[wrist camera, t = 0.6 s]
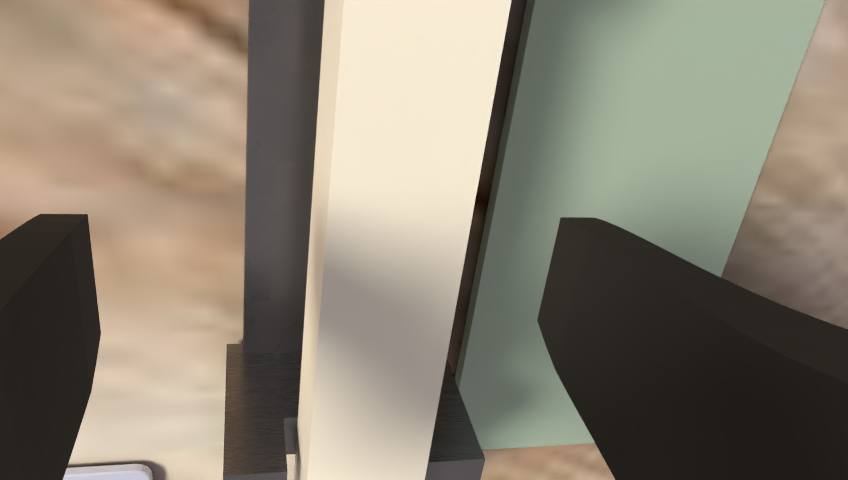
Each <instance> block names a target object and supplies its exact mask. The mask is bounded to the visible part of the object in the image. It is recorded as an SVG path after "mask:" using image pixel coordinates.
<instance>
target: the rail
mask: <svg viewBox="0 0 848 480" xmlns="http://www.w3.org/2000/svg"><path fill="white" fill-rule="evenodd" d="M510 6H511V0H325V5H324V21H323V36H322V52H321V67H320V83H319V98H318V114H317V129H316V145H315V160H314V176H313V191H312V207H311V222H310V238H309V253H308V269H307V284H306V300H305V315H304V331H303V346H302V362H301V377H300V393H299V408H298V424H297V439H296V455H295V470H294V480H425V476H426V470H427V465H428V459H429V453H430V448H431V442H432V437H433V431H434V426H435V420H436V415H437V409H438V404H439V398H440V393H441V387H442V382H443V376H444V371H445V365H446V360H447V354H448V348H449V343H450V337H451V332H452V326H453V321H454V315H455V310H456V304H457V299H458V293H459V288H460V282H461V277H462V271H463V266H464V260H465V255H466V249H467V244H468V238H469V232H470V227H471V221H472V216H473V210H474V205H475V199H476V194H477V188H478V183H479V177H480V172H481V166H482V161H483V155H484V150H485V144H486V139H487V133H488V127H489V122H490V116H491V111H492V105H493V100H494V94H495V89H496V83H497V78H498V72H499V67H500V61H501V56H502V50H503V45H504V39H505V34H506V28H507V23H508V17H509V11H510Z"/></svg>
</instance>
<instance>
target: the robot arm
mask: <svg viewBox="0 0 848 480" xmlns="http://www.w3.org/2000/svg"><path fill="white" fill-rule="evenodd" d="M537 321H538V324H539V327H540V330H541V333H542V336H543V339H544V342H545V345H546V348H547V350H548V353H549V355H550V358H551V361H552V363H553V366H554V368H555V370H556V372H557V374H558V376H559V378H560V380H561V382H562V384H563V386H564V388H565V389H566V391H567V393H568V395H569V397H570V399H571V400H572V402H573V404H574V406H575V408H576V410H577V411H578V413H579V415H580V417H581V419H582V420H583V422H584V424H585V426H586V427H587V429H588V431H589V433H590V435H591V436H592V438H593V440H594V442H595V444H596V445H597V447H598V449H599V451H600V453H601V454H602V456H603V458H604V460H605V461H606V463H607V465H608V467H609V469H610V470H611V472H612V474H613V476H614V478H615V480H848V329H845V328H842V327H839V326H836V325H833V324H830V323H827V322H825V321H822V320H819V319H817V318H814V317H812V316H809V315H806V314H804V313H801V312H798V311H796V310H793V309H790V308H788V307H785V306H783V305H781V304H778V303H776V302H773V301H771V300H769V299H766V298H764V297H762V296H760V295H757V294H755V293H753V292H751V291H749V290H746V289H744V288H742V287H740V286H738V285H735V284H733V283H731V282H729V281H727V280H725V279H723V278H721V277H719V276H716V275H714V274H712V273H710V272H708V271H706V270H704V269H702V268H700V267H698V266H696V265H694V264H692V263H690V262H688V261H686V260H684V259H682V258H681V257H679V256H677V255H675V254H673V253H671V252H669V251H667V250H665V249H663V248H661V247H659V246H657V245H655V244H653V243H651V242H649V241H647V240H645V239H643V238H641V237H639V236H637V235H635V234H633V233H631V232H629V231H627V230H625V229H623V228H621V227H618V226H616V225H614V224H611V223H609V222H606V221H604V220H601V219H598V218H592V217H561V218H560V222H559V227H558V231H557V235H556V240H555V244H554V249H553V253H552V257H551V262H550V266H549V270H548V275H547V279H546V284H545V288H544V292H543V297H542V301H541V305H540V310H539V314H538V319H537ZM100 335H101V331H100V322H99V313H98V304H97V295H96V286H95V277H94V268H93V260H92V251H91V242H90V233H89V224H88V215H87V214H40V215H38V216H36V217H34V218H32V219H31V220H29V221H27V222H26V223H24V224H23V225H21V226H20V227H18V228H17V229H15V230H14V231H12V232H11V233H9V234H8V235H6V236H5V237H3V238H2V239H0V480H153V479H152V472H151V469H150V468H149V467H147V466H145V465H143V464H125V465H108V466H91V467H75V468H67V465H68V462H69V459H70V456H71V453H72V450H73V447H74V444H75V441H76V438H77V435H78V432H79V428H80V425H81V422H82V419H83V416H84V413H85V410H86V406H87V403H88V400H89V397H90V393H91V389H92V384H93V378H94V372H95V367H96V361H97V354H98V348H99V341H100Z"/></svg>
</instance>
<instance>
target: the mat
mask: <svg viewBox="0 0 848 480" xmlns="http://www.w3.org/2000/svg"><path fill="white" fill-rule="evenodd" d="M824 2H825V0H527V3H526V8H525V13H524V19H523V24H522V29H521V34H520V40H519V45H518V50H517V55H516V61H515V66H514V71H513V76H512V82H511V87H510V92H509V97H508V103H507V108H506V113H505V118H504V124H503V129H502V134H501V139H500V145H499V150H498V155H497V160H496V166H495V171H494V176H493V181H492V187H491V192H490V197H489V202H488V207H487V213H486V218H485V223H484V228H483V234H482V239H481V244H480V249H479V255H478V260H477V265H476V270H475V276H474V281H473V286H472V291H471V297H470V302H469V307H468V312H467V318H466V323H465V328H464V333H463V339H462V344H461V349H460V354H459V360H458V365H457V370H456V375H455V381H456V383H457V386H458V389H459V391H460V394H461V397H462V399H463V402H464V405H465V407H466V410H467V413H468V415H469V418H470V421H471V423H472V426H473V429H474V431H475V434H476V436H477V439H478V442H479V444H480V447H481V450H489V449H505V448H522V447H538V446H554V445H570V444H586V443H595V442H594V440H593V438H592V436H591V435H590V433H589V431H588V429H587V427H586V426H585V424H584V422H583V420H582V419H581V417H580V415H579V413H578V411H577V410H576V408H575V406H574V404H573V402H572V400H571V399H570V397H569V395H568V393H567V391H566V389H565V388H564V386H563V384H562V382H561V380H560V378H559V376H558V374H557V372H556V370H555V368H554V366H553V363H552V361H551V358H550V355H549V353H548V350H547V348H546V345H545V342H544V339H543V336H542V333H541V330H540V327H539V324H538V321H537V319H538V314H539V310H540V305H541V301H542V297H543V292H544V288H545V284H546V279H547V275H548V270H549V266H550V262H551V257H552V253H553V249H554V244H555V240H556V235H557V231H558V227H559V222H560V218H561V217H592V218H598V219H601V220H604V221H606V222H609V223H611V224H614V225H616V226H618V227H621V228H623V229H625V230H627V231H629V232H631V233H633V234H635V235H637V236H639V237H641V238H643V239H645V240H647V241H649V242H651V243H653V244H655V245H657V246H659V247H661V248H663V249H665V250H667V251H669V252H671V253H673V254H675V255H677V256H679V257H681V258H682V259H684V260H686V261H688V262H690V263H692V264H694V265H696V266H698V267H700V268H702V269H704V270H706V271H708V272H710V273H712V274H714V275H716V276H719V277H721V276H722V273H723V270H724V268H725V265H726V262H727V260H728V257H729V254H730V252H731V249H732V246H733V244H734V241H735V238H736V236H737V233H738V230H739V228H740V225H741V223H742V220H743V217H744V215H745V212H746V209H747V207H748V204H749V201H750V199H751V196H752V193H753V191H754V188H755V185H756V183H757V180H758V177H759V175H760V172H761V169H762V167H763V164H764V161H765V159H766V156H767V153H768V151H769V148H770V146H771V143H772V140H773V138H774V135H775V132H776V130H777V127H778V124H779V122H780V119H781V116H782V114H783V111H784V108H785V106H786V103H787V100H788V98H789V95H790V92H791V90H792V87H793V84H794V82H795V79H796V76H797V74H798V71H799V69H800V66H801V63H802V61H803V58H804V55H805V53H806V50H807V47H808V45H809V42H810V39H811V37H812V34H813V31H814V29H815V26H816V23H817V21H818V18H819V15H820V13H821V10H822V7H823V5H824Z"/></svg>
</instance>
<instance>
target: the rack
mask: <svg viewBox="0 0 848 480" xmlns="http://www.w3.org/2000/svg"><path fill="white" fill-rule="evenodd" d="M324 5H325V0H249V24H248V83H247V141H246V199H245V257H244V315H243V344H227V361H226V397H225V433H224V469H223V480H287V461H286V454H296V439H297V424H298V408H299V393H300V377H301V362H302V346H303V331H304V315H305V300H306V284H307V269H308V253H309V238H310V222H311V207H312V191H313V176H314V160H315V145H316V129H317V114H318V98H319V83H320V67H321V52H322V36H323V21H324ZM484 461H485V458H484V455H483V452H482V450H481V447H480V444H479V442H478V439H477V436H476V434H475V431H474V429H473V426H472V423H471V421H470V418H469V415H468V413H467V410H466V407H465V405H464V402H463V399H462V397H461V394H460V391H459V389H458V386H457V383H456V381H455V378H454V376H453V373H452V370H451V368H450V365H449V362H448V360H446V365H445V371H444V376H443V382H442V387H441V393H440V398H439V404H438V409H437V415H436V420H435V426H434V431H433V437H432V442H431V448H430V453H429V459H428V465H427V470H426V476H425V480H480V478H481V474H482V470H483V465H484Z"/></svg>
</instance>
